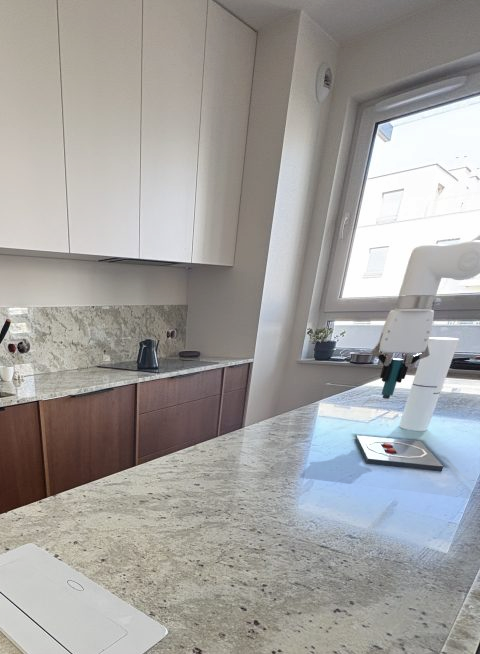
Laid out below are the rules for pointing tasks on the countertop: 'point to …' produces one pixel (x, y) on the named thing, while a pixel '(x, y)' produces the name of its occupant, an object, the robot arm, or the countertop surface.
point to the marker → (392, 378)
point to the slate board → (397, 453)
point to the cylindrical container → (428, 384)
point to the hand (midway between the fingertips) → (391, 380)
